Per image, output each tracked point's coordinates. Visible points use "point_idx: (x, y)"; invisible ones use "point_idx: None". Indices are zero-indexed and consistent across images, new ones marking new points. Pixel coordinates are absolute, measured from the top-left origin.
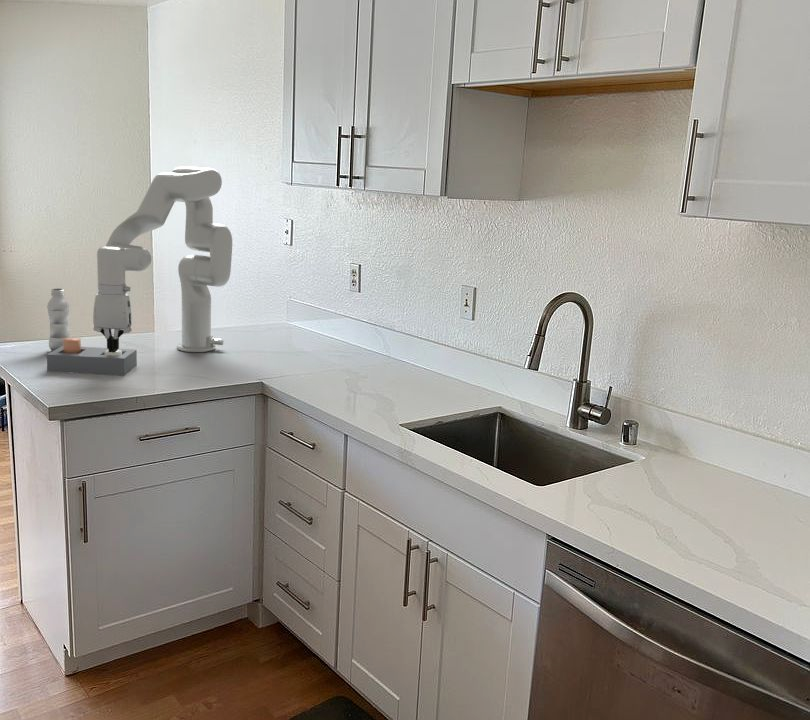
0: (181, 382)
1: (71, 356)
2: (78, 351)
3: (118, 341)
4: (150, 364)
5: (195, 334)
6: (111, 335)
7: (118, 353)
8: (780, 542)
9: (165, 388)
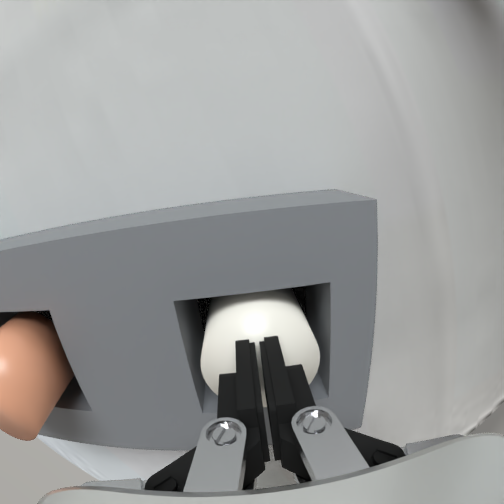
0: (498, 361)
1: (99, 442)
2: (64, 382)
3: (311, 401)
4: (388, 143)
5: None
6: (255, 455)
7: (307, 380)
8: None
9: (460, 421)
